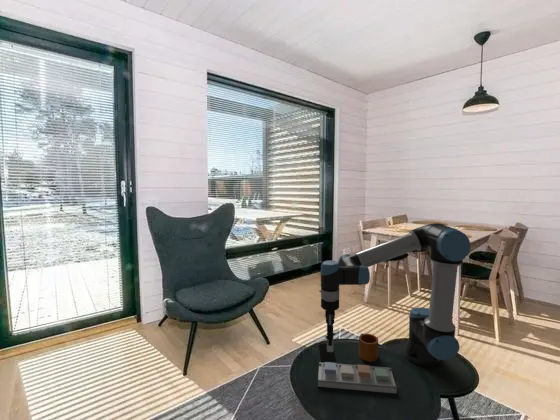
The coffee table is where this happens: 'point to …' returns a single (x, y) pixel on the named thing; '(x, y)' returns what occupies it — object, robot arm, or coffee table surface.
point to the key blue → (330, 368)
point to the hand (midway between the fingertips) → (330, 350)
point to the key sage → (381, 374)
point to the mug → (368, 347)
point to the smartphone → (326, 354)
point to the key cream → (346, 371)
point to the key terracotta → (364, 371)
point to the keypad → (356, 380)
